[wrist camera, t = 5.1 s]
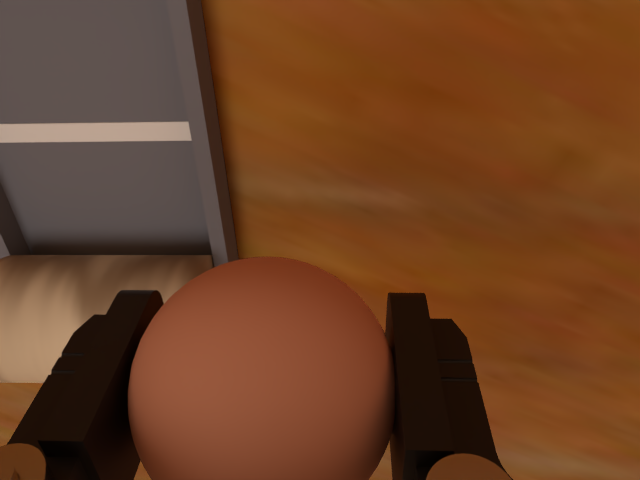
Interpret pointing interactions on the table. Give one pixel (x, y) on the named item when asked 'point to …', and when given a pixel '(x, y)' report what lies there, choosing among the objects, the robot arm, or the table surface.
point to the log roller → (72, 300)
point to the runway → (110, 131)
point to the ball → (262, 378)
